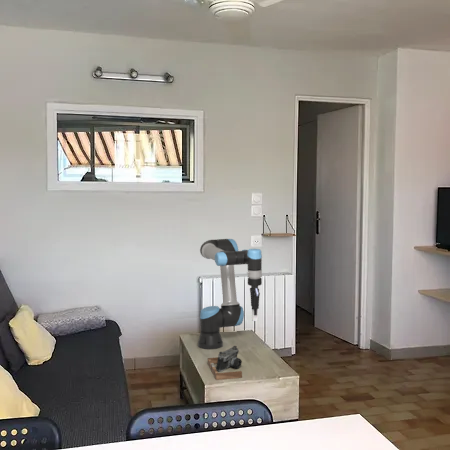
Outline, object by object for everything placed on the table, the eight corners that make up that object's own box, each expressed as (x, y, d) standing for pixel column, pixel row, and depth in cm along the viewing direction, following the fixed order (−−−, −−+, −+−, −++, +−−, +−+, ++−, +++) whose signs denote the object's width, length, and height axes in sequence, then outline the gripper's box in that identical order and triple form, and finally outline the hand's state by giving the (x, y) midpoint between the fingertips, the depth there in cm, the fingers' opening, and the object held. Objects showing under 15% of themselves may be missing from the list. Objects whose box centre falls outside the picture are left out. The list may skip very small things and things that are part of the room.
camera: (228, 377, 267) (232, 359, 265) (213, 370, 272) (217, 352, 270) (245, 366, 282) (248, 349, 281) (230, 360, 287) (234, 343, 285)
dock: (207, 363, 284) (207, 356, 284) (231, 361, 287) (231, 354, 287) (216, 380, 259) (216, 372, 259) (242, 377, 262) (241, 370, 262)
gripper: (245, 275, 286) (245, 317, 288) (250, 280, 273) (250, 324, 275) (258, 275, 287) (258, 316, 289) (264, 279, 274) (264, 323, 277)
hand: (254, 320), depth 282 cm, fingers closed
